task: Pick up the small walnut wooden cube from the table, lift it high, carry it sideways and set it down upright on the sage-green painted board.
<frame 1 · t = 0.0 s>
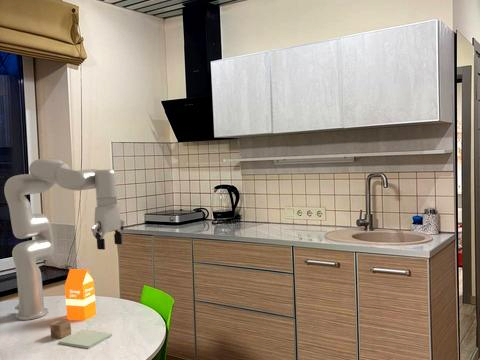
hand: (110, 246, 185), 31 cm above the table, tool pointing down, fingers open, 9 cm apart
sage board: (85, 339, 176), on the table
walnut cube: (61, 336, 181), on the table
orange juice: (82, 317, 201), on the table
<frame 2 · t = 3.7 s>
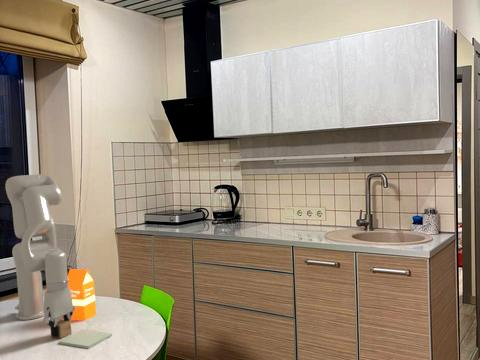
hand: (61, 333, 181), 1 cm above the table, tool pointing down, fingers closed on walnut cube, 5 cm apart
walnut cube: (61, 335, 181), on the table, touching gripper
everything else where it was.
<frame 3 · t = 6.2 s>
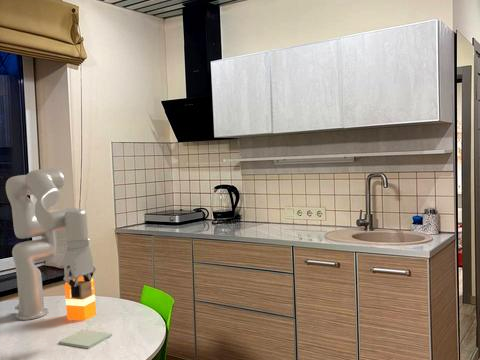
hand: (81, 293, 175), 17 cm above the table, tool pointing down, fingers closed on walnut cube, 5 cm apart
walnut cube: (81, 296, 175), point 16 cm above the table, touching gripper
everything else where it was.
when the fingers open (3 cm above the table, at t = 9.1 s): walnut cube drops 2 cm, resting on sage board.
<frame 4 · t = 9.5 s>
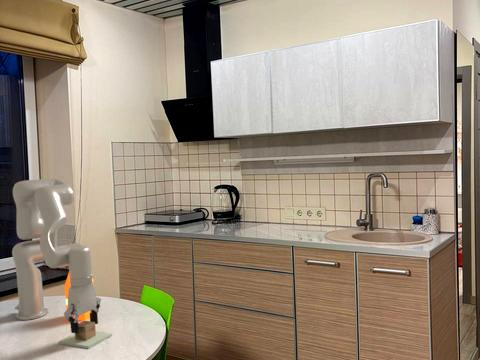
hand: (84, 328, 175), 4 cm above the table, tool pointing down, fingers open, 9 cm apart
walnut cube: (85, 337, 176), point 1 cm above the table, touching sage board
everything else where it was.
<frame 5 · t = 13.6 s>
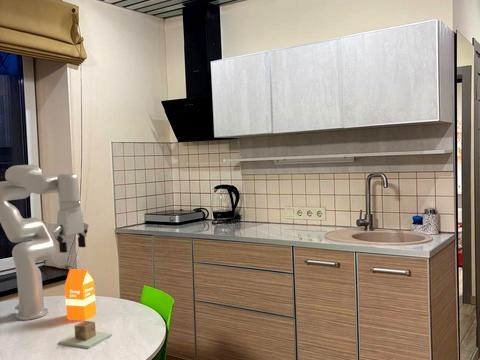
hand: (73, 249, 188), 30 cm above the table, tool pointing down, fingers open, 9 cm apart
nothing on the table moved.
at the end: walnut cube inside the target area on the sage board (0.1 cm from its centre), point 0.8 cm above the sage board's base; walnut cube tilted 0°; the gripper is holding nothing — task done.
